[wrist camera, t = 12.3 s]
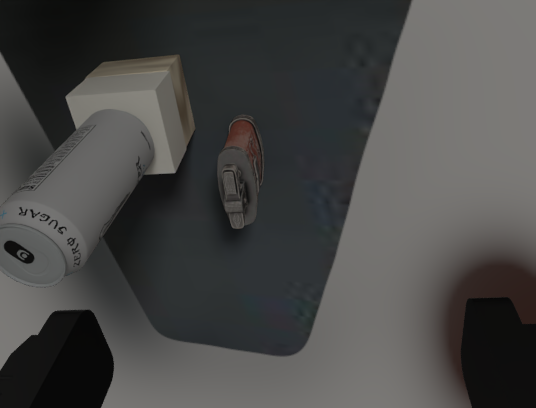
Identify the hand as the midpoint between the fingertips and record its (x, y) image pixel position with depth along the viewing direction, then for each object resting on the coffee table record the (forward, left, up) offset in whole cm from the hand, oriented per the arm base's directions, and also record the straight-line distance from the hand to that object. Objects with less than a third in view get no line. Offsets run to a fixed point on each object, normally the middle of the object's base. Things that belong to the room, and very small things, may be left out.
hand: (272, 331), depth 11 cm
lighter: (+15, -8, -38) cm, 42 cm away
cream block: (+8, -16, -34) cm, 38 cm away
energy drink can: (+8, -16, -29) cm, 34 cm away
